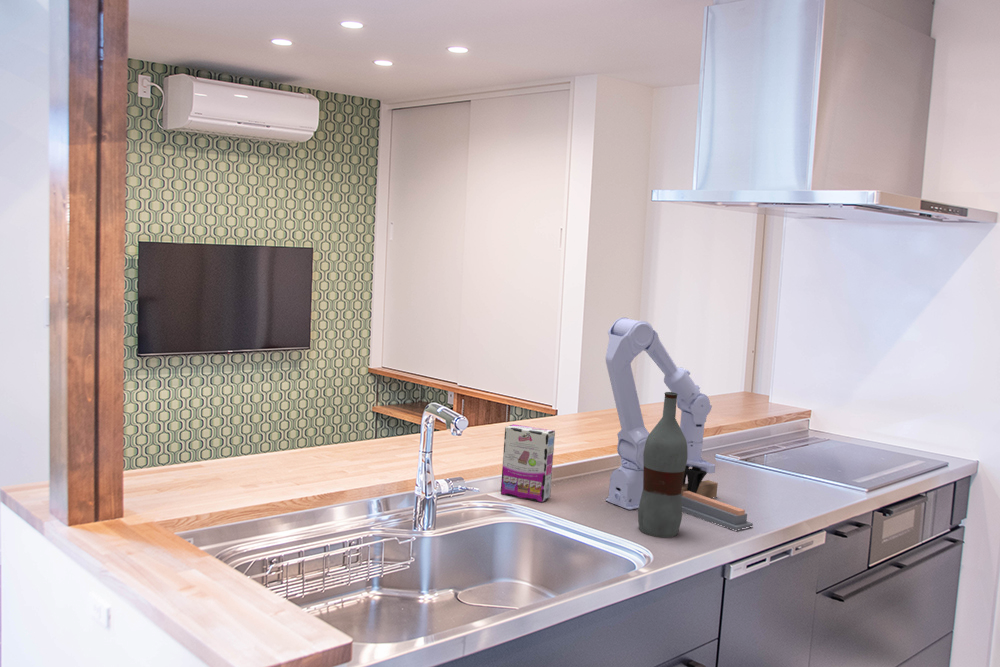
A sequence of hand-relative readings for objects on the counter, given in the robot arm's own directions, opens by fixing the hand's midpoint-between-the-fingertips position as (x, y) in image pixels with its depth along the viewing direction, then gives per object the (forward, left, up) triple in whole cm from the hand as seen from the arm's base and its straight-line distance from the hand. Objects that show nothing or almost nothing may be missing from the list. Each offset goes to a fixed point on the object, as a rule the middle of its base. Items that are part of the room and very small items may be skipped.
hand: (685, 494), depth 201 cm
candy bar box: (-35, +19, -2) cm, 40 cm away
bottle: (-24, -13, -2) cm, 27 cm away
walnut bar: (0, 0, -2) cm, 2 cm away
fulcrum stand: (-5, -12, -1) cm, 13 cm away
